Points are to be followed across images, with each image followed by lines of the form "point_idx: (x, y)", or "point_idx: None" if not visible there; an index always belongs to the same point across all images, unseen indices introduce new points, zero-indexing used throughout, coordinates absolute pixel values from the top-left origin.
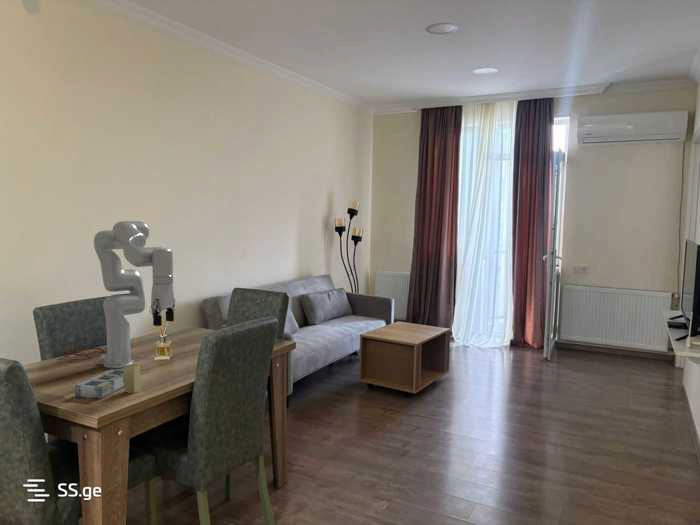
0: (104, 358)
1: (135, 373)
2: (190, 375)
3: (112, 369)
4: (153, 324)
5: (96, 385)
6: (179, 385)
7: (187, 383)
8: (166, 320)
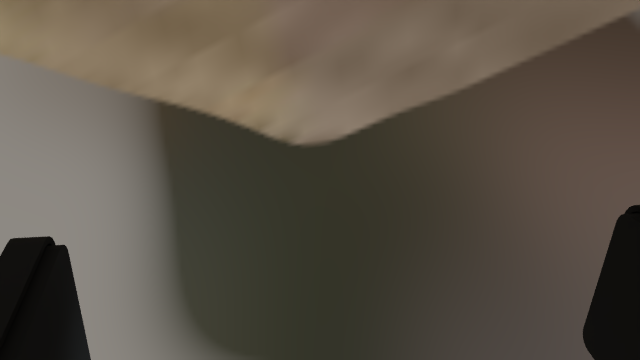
0: None
1: None
2: (477, 77)
3: None
4: (6, 251)
5: None
6: (249, 109)
7: (300, 139)
8: (621, 225)
